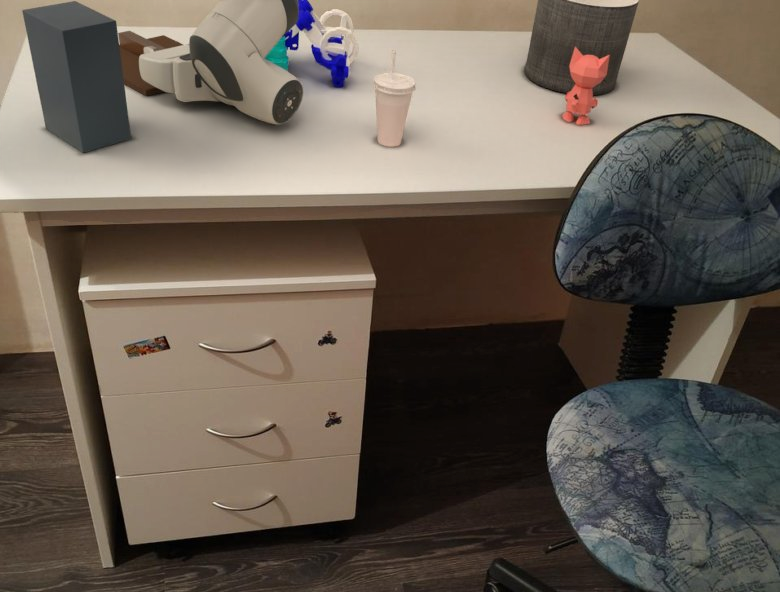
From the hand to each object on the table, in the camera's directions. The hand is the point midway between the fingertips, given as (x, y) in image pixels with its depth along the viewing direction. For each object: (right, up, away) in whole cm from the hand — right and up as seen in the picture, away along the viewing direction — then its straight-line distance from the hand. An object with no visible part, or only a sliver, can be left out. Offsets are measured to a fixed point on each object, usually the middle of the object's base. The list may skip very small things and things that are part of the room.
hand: (171, 45), depth 136 cm
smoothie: (+37, -19, -9) cm, 43 cm away
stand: (-8, -20, -17) cm, 27 cm away
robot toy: (+18, -1, +9) cm, 20 cm away
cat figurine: (+69, -11, +4) cm, 70 cm away
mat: (-4, -1, +6) cm, 7 cm away
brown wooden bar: (-3, -1, +5) cm, 6 cm away
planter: (+72, +2, +20) cm, 75 cm away
